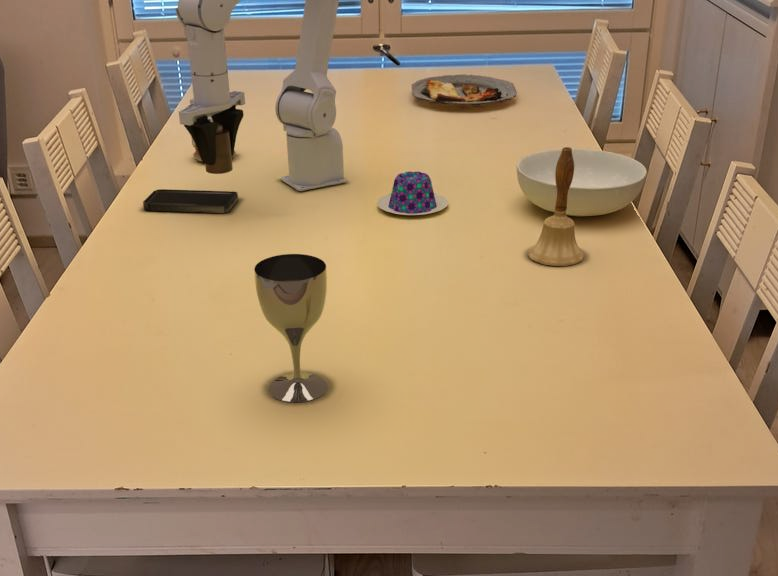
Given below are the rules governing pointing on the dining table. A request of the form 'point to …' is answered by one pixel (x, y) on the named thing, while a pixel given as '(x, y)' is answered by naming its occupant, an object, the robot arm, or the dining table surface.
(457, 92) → the food plate
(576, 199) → the serving bowl
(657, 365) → the dining table surface
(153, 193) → the phone
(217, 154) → the salt shaker
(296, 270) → the wine glass
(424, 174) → the pudding
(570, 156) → the hand bell
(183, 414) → the dining table surface
